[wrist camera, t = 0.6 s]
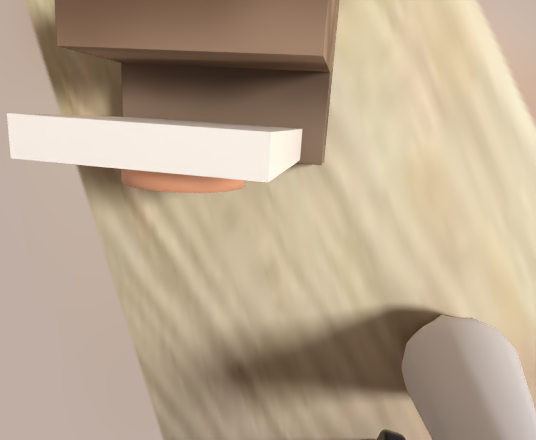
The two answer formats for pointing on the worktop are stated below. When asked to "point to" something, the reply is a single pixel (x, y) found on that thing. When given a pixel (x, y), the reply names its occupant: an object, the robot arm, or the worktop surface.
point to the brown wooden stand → (215, 59)
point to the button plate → (159, 149)
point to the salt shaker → (468, 382)
